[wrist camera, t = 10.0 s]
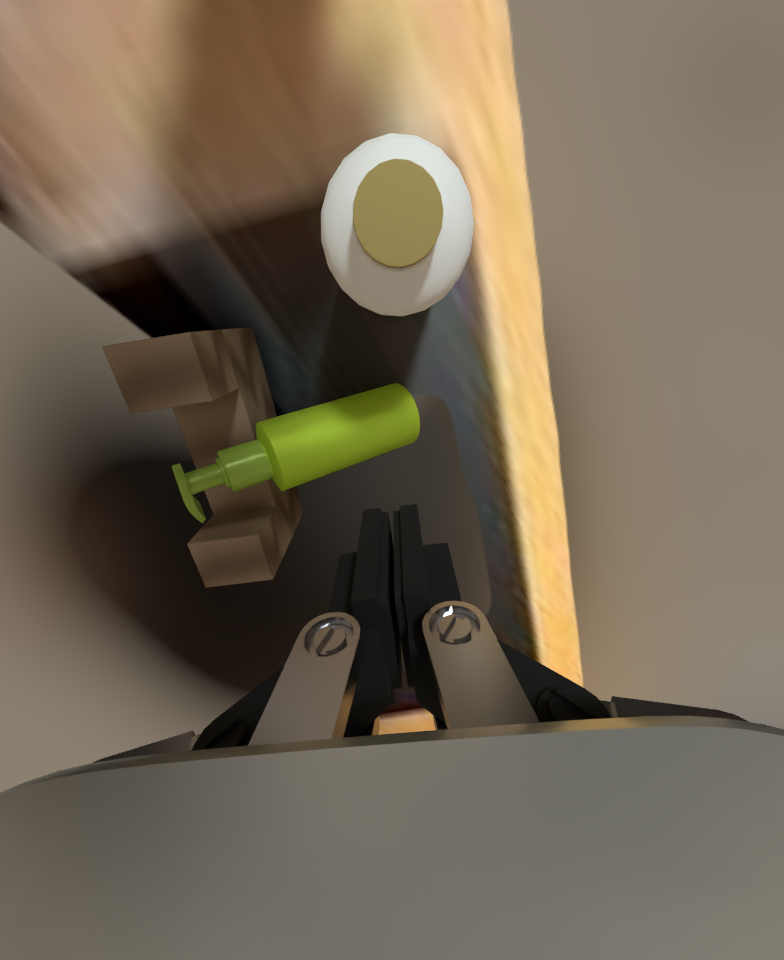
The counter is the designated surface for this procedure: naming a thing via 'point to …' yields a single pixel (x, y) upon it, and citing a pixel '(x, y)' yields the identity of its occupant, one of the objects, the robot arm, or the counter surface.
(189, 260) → the counter surface
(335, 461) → the soap dispenser
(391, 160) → the potion bottle
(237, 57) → the counter surface
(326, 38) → the counter surface
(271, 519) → the bottle rest
